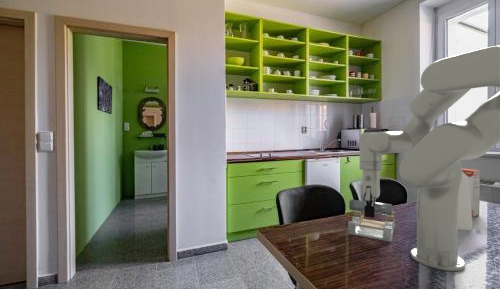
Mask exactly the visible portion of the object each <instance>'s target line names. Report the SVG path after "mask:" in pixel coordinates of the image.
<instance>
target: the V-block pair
mask: <svg viewBox="0 0 500 289" xmlns="http://www.w3.org/2000/svg"><path fill="white" fill-rule="evenodd" d="M384 222H385V227H383V230H377V229H371V228H365V227H359V217H354V215H353V216H352V218H351V221H349V220H348V225H347V226H348V227H347V228H348V232H347V234H348V235H353V236H357V237H359V236H360V237H362V238H369V239H374V240H380V241H384V242H390V243H392V240H393V236H394V232H393V222H388V221H386V220H385V221H384Z"/></svg>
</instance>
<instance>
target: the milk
mask: <svg viewBox="0 0 500 289" xmlns="http://www.w3.org/2000/svg"><path fill="white" fill-rule="evenodd" d="M473 229H474V228H473V217H472V212H471V197H470V183H469V180H468V178H467V177H466V175H465V174H464V173H463V171H462V179H461V184H460V189H459V199H458V230H463V231H464V230H465V231H473Z"/></svg>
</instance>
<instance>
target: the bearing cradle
mask: <svg viewBox="0 0 500 289" xmlns="http://www.w3.org/2000/svg"><path fill="white" fill-rule="evenodd" d="M395 214H396V212H395V211H393V210H392V216H389V215H385V221H388V222H393V233H394V231H395V226H396V223H395V220H396V219H395V217H396V216H395ZM353 216H354V217H359V227H365V228H371V229H377V230H383V227H385V221H379V220H371V219H367V218H364V216H365V212H360V211H353Z"/></svg>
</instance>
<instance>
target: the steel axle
mask: <svg viewBox="0 0 500 289" xmlns="http://www.w3.org/2000/svg"><path fill="white" fill-rule="evenodd" d="M348 208H349V210H350V211H353V212H354V211H360V212H364V213H365V200H360V199H359V200H357V199H350V200H349V204H348ZM392 211H393V204H391V203H385V202H384V203H383V202H377V201H376V202H374V213H375V214H374V215H383V216H386V215H389V216H392Z"/></svg>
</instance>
